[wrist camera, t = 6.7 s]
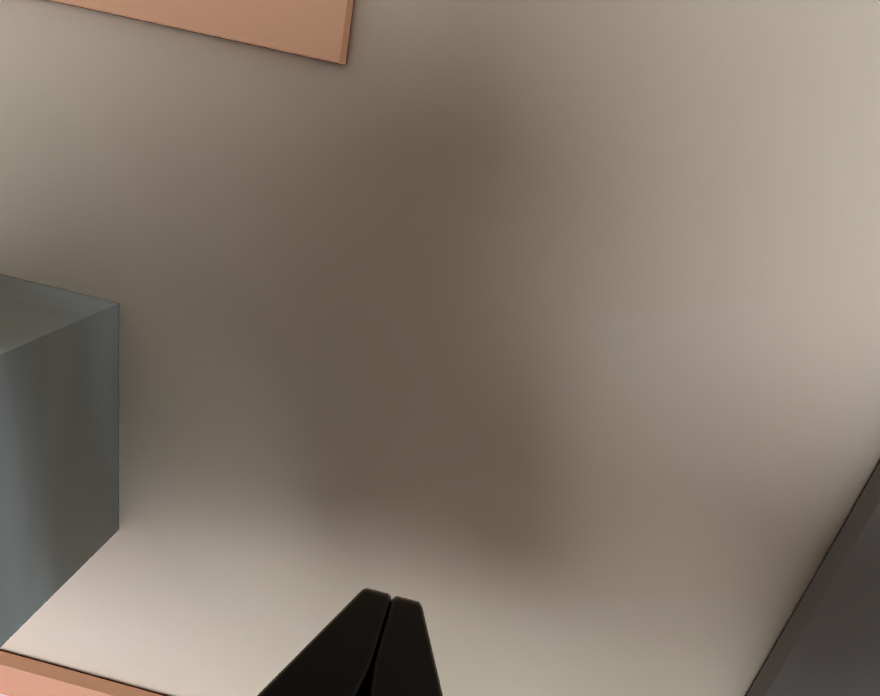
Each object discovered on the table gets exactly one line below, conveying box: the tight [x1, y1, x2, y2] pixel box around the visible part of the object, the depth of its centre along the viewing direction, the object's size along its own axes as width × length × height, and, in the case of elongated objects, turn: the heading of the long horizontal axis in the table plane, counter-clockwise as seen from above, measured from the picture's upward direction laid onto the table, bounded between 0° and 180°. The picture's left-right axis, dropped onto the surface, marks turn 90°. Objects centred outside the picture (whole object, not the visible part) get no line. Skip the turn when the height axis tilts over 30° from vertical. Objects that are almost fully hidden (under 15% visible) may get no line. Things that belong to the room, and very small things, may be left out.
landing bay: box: [0, 0, 354, 696], centre depth 11 cm, size 10×16×1 cm, turn 168°
